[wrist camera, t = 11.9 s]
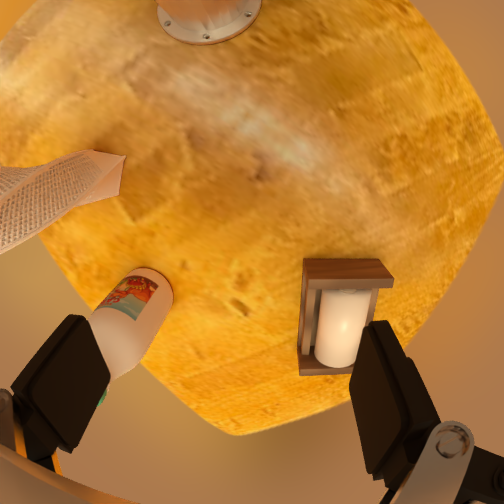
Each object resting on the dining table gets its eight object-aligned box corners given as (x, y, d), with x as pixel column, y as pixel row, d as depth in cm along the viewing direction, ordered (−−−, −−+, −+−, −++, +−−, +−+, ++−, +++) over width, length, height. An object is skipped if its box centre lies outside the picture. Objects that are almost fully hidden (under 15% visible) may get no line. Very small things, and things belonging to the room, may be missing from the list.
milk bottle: (184, 287, 39) (126, 398, 20) (160, 323, 41) (105, 427, 23) (137, 255, 38) (51, 345, 19) (118, 293, 40) (43, 384, 22)
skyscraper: (137, 148, 32) (-76, 199, 6) (127, 205, 35) (-51, 323, 9) (87, 139, 32) (-105, 181, 6) (80, 193, 35) (-91, 279, 9)
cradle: (303, 258, 36) (308, 279, 31) (378, 258, 36) (394, 278, 30) (296, 348, 42) (299, 375, 36) (361, 346, 41) (370, 371, 36)
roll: (319, 275, 36) (326, 299, 31) (364, 275, 36) (378, 298, 30) (312, 341, 40) (316, 370, 34) (352, 340, 40) (361, 367, 34)
